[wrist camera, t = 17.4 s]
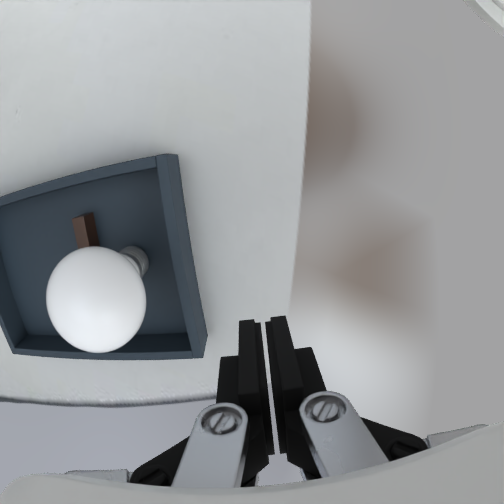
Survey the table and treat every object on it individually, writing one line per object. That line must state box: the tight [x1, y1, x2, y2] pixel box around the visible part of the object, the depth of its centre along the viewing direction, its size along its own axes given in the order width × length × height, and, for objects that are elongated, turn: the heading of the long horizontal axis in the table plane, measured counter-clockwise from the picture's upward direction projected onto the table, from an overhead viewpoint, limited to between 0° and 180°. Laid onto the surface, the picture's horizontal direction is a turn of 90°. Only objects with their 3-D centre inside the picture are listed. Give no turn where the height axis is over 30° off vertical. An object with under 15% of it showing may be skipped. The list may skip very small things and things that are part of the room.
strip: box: [72, 212, 100, 249], centre depth 23 cm, size 1×9×2 cm, turn 6°
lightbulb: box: [46, 246, 149, 353], centre depth 19 cm, size 6×6×11 cm
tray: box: [0, 154, 208, 360], centre depth 23 cm, size 22×16×4 cm
